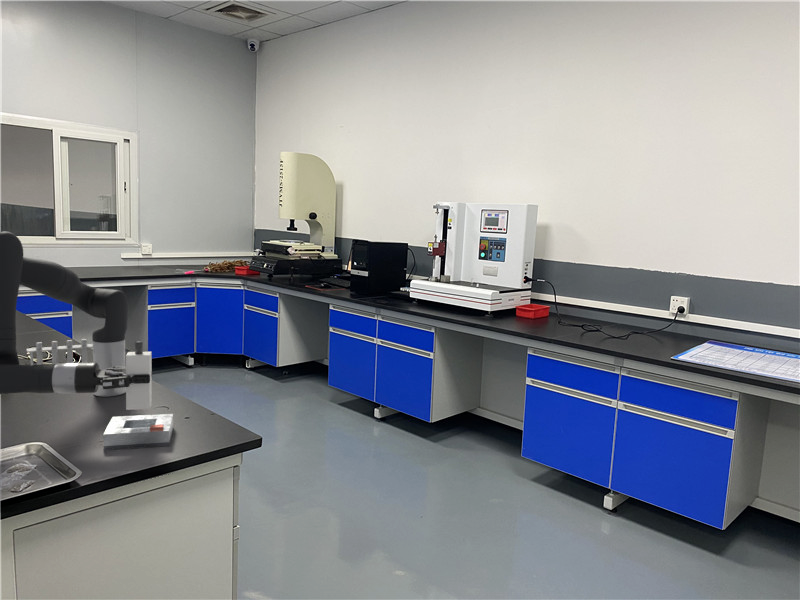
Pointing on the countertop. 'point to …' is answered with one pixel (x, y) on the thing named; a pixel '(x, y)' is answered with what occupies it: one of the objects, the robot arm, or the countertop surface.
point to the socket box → (138, 431)
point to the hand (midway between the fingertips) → (150, 376)
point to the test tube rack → (56, 348)
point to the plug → (140, 393)
